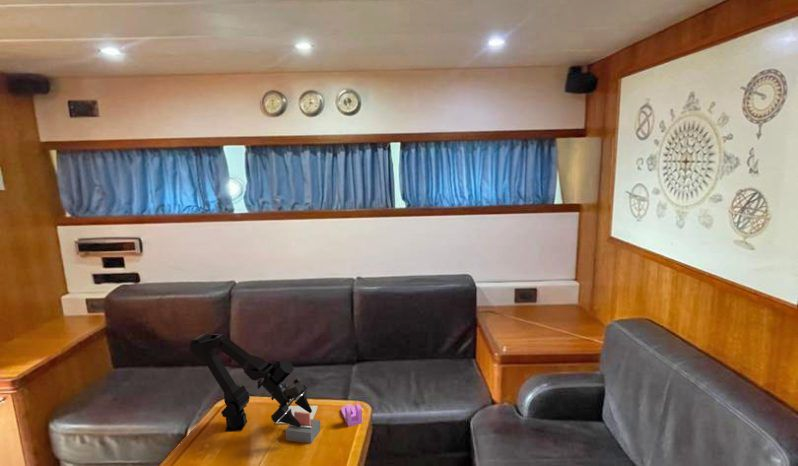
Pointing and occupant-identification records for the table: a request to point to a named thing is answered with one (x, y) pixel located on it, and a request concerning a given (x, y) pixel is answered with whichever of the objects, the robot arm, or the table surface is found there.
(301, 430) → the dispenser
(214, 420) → the table surface
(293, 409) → the mat
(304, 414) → the pink rectangular prism
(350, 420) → the bracket
